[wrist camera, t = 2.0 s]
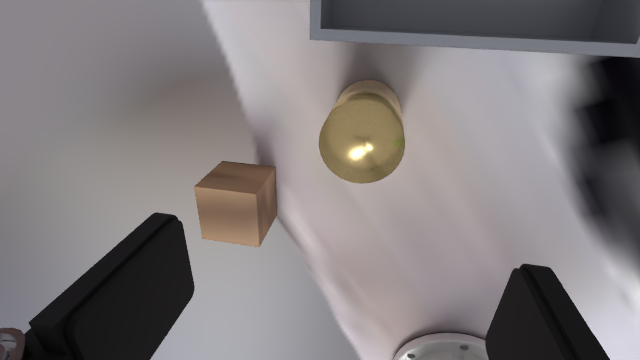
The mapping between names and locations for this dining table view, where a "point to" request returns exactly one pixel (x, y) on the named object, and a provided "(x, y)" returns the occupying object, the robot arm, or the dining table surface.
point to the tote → (485, 24)
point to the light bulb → (363, 133)
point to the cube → (237, 203)
